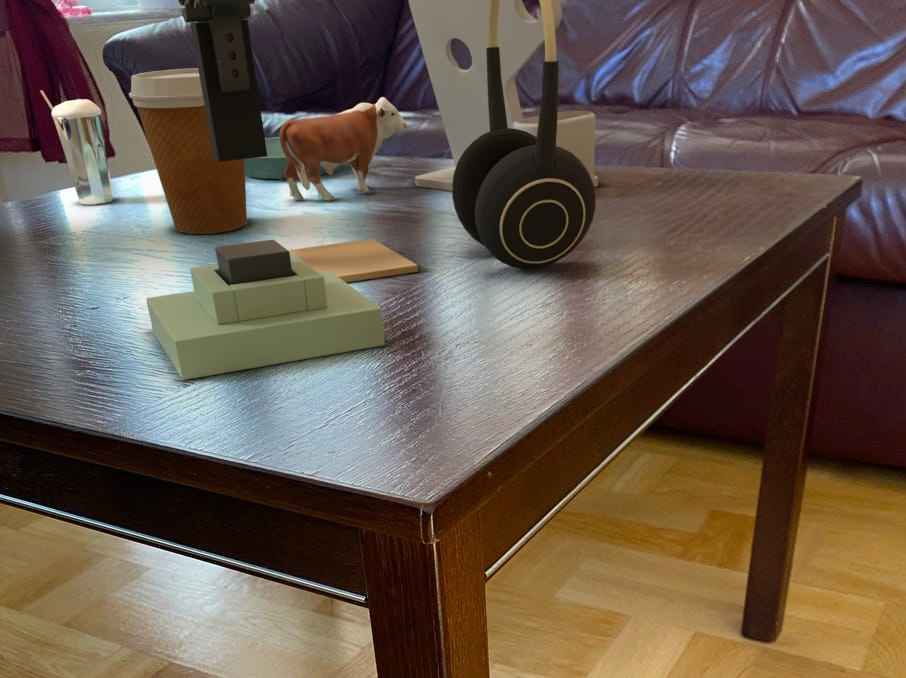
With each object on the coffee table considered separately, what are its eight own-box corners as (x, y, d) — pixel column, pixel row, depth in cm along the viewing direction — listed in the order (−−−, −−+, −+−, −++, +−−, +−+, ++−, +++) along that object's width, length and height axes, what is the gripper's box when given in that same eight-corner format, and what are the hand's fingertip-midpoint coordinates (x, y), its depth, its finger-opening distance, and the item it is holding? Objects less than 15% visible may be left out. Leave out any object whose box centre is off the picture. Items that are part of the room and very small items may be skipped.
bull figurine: (416, 188, 102) (411, 96, 98) (295, 207, 96) (283, 111, 92) (395, 182, 105) (388, 93, 101) (276, 201, 99) (263, 107, 95)
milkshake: (78, 197, 105) (52, 87, 99) (127, 196, 104) (104, 86, 99) (57, 206, 101) (29, 93, 96) (108, 206, 100) (82, 91, 95)
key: (219, 277, 61) (214, 246, 60) (278, 268, 63) (273, 238, 62) (233, 290, 59) (228, 259, 58) (293, 282, 60) (289, 251, 59)
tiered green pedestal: (153, 333, 64) (139, 268, 62) (334, 304, 68) (327, 242, 66) (182, 380, 57) (167, 308, 55) (385, 345, 61) (379, 276, 58)
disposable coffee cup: (166, 244, 85) (133, 81, 79) (149, 223, 93) (118, 73, 86) (277, 229, 88) (254, 72, 82) (252, 210, 96) (229, 64, 89)
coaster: (251, 261, 79) (250, 255, 79) (373, 245, 82) (372, 238, 82) (285, 291, 71) (284, 284, 71) (418, 271, 75) (417, 264, 74)
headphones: (492, 290, 70) (481, -64, 59) (444, 243, 82) (428, -58, 71) (610, 277, 71) (622, -70, 60) (547, 233, 83) (547, -63, 72)
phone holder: (606, 184, 100) (613, -35, 90) (543, 202, 94) (543, -31, 84) (473, 169, 110) (465, -30, 100) (408, 185, 104) (393, -26, 94)
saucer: (248, 189, 105) (244, 161, 104) (208, 170, 116) (203, 144, 115) (378, 172, 111) (376, 145, 109) (328, 155, 122) (325, 130, 120)
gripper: (268, -491, 40) (340, 165, 53) (201, -394, 50) (276, 137, 63) (68, -510, 38) (196, 181, 51) (41, -404, 48) (153, 150, 61)
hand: (240, 156), depth 57 cm, fingers closed
